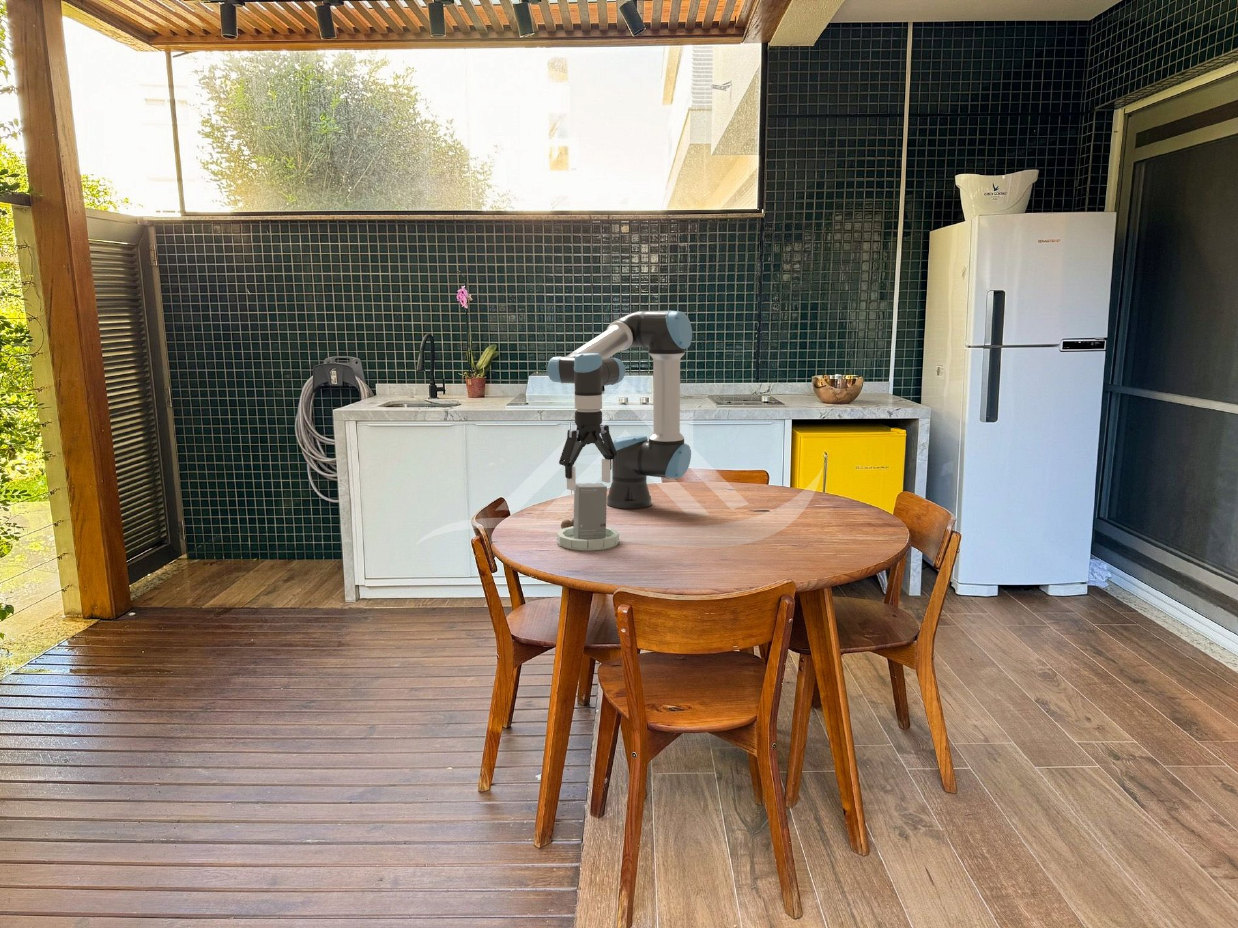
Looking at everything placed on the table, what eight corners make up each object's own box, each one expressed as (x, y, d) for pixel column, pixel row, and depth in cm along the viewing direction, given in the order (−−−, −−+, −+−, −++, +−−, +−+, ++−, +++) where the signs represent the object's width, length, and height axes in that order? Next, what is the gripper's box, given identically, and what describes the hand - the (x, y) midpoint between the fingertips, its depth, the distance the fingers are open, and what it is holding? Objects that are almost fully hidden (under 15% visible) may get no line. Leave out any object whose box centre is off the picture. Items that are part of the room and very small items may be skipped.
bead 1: (567, 529, 249) (567, 517, 248) (575, 531, 246) (575, 519, 246) (558, 531, 246) (558, 519, 246) (566, 533, 244) (566, 521, 243)
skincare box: (578, 543, 230) (578, 487, 228) (572, 537, 237) (572, 482, 234) (607, 541, 233) (608, 486, 230) (601, 535, 240) (601, 481, 237)
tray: (588, 531, 246) (588, 522, 246) (630, 542, 235) (630, 532, 234) (545, 542, 234) (545, 532, 234) (587, 554, 223) (587, 544, 222)
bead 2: (577, 527, 252) (577, 515, 251) (585, 529, 249) (585, 517, 249) (568, 529, 249) (568, 517, 248) (576, 531, 247) (576, 519, 246)
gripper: (610, 404, 239) (610, 476, 244) (545, 413, 222) (546, 490, 226) (629, 407, 234) (629, 480, 238) (564, 415, 217) (565, 495, 221)
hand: (589, 485), depth 232 cm, fingers open, 13 cm apart
